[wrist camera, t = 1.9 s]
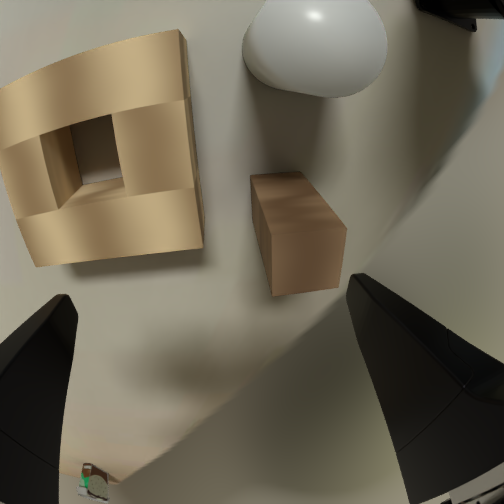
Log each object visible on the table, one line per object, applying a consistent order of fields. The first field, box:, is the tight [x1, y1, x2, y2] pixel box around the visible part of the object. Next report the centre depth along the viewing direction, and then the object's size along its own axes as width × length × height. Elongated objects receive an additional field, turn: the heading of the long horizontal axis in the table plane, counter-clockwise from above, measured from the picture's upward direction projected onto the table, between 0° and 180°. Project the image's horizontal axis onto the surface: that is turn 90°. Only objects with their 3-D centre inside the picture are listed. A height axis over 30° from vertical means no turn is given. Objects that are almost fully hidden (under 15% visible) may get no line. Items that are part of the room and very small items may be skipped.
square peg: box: [250, 172, 347, 297], centre depth 17 cm, size 3×3×8 cm
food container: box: [76, 463, 109, 503], centre depth 50 cm, size 12×6×10 cm, turn 6°
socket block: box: [0, 29, 205, 267], centre depth 15 cm, size 12×12×4 cm
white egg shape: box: [242, 0, 387, 98], centre depth 12 cm, size 6×6×7 cm
